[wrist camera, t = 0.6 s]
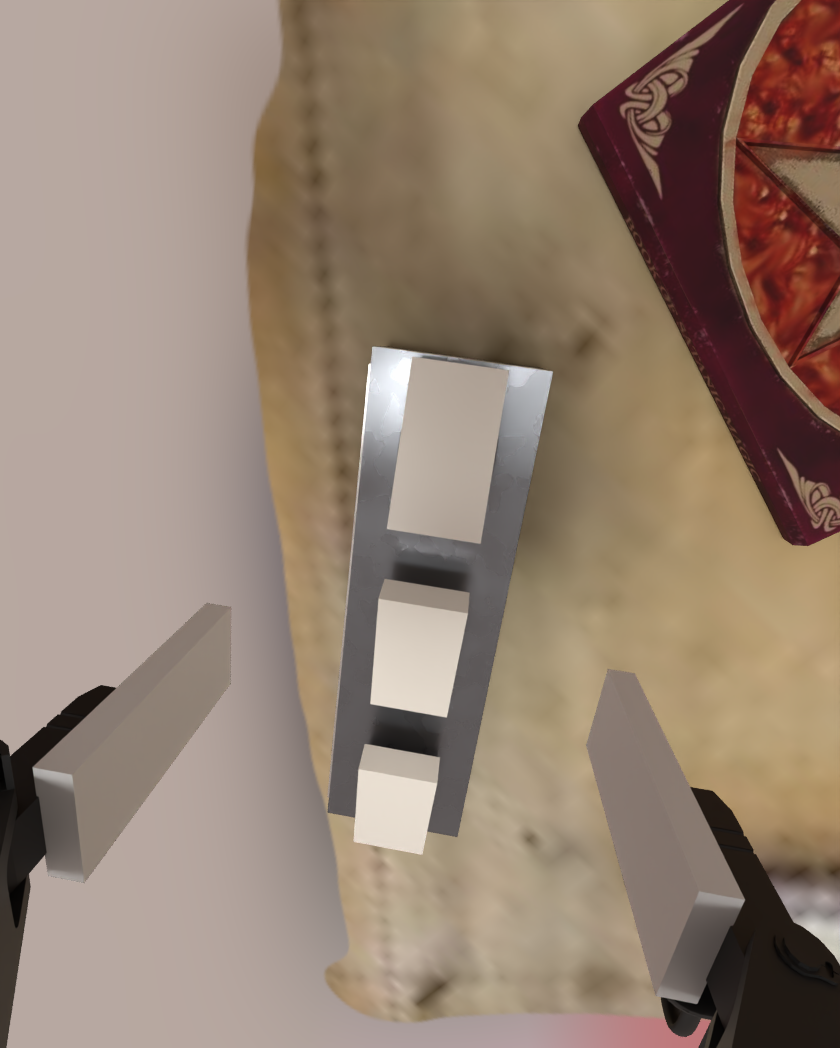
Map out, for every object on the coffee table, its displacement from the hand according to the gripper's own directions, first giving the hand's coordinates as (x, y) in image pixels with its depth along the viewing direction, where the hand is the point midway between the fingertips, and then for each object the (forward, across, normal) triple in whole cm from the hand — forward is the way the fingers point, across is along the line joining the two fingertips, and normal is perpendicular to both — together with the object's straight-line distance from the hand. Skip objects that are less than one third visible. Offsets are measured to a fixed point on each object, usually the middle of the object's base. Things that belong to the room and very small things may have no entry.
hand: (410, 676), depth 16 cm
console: (+22, 0, -8) cm, 24 cm away
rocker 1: (+17, 0, +3) cm, 17 cm away
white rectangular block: (+17, 0, -8) cm, 19 cm away
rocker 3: (+17, 0, -20) cm, 26 cm away
